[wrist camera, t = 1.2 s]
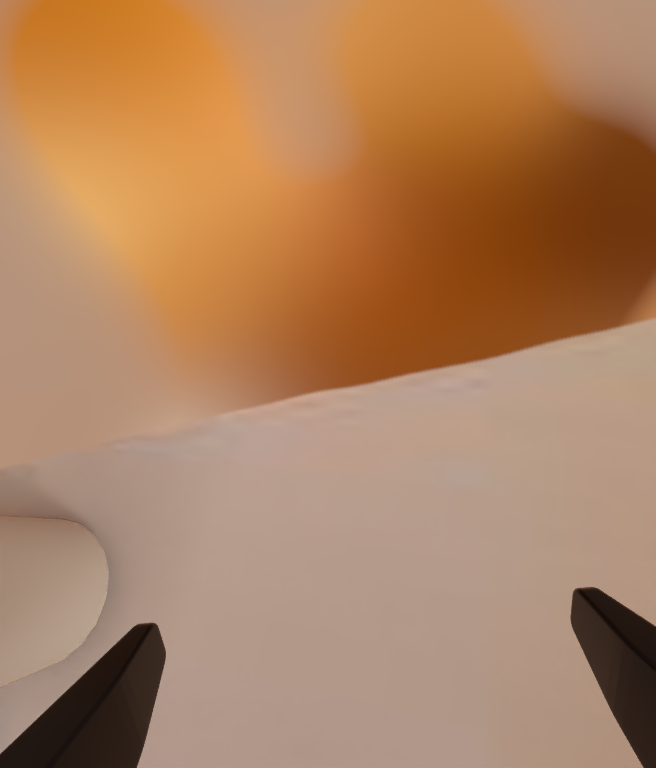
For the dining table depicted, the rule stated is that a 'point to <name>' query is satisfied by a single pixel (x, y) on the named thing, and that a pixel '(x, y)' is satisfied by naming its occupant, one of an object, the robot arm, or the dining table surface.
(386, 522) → the dining table surface
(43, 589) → the can
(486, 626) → the dining table surface
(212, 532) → the dining table surface
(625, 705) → the robot arm
